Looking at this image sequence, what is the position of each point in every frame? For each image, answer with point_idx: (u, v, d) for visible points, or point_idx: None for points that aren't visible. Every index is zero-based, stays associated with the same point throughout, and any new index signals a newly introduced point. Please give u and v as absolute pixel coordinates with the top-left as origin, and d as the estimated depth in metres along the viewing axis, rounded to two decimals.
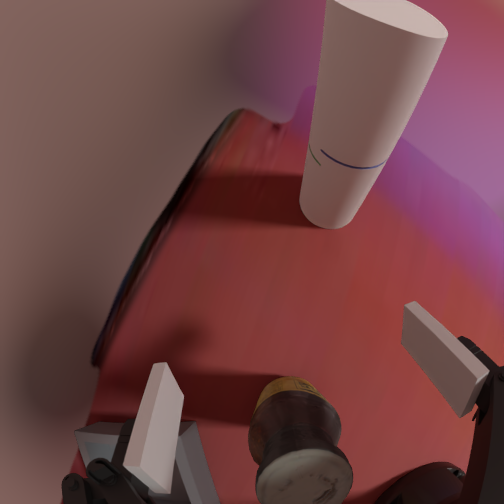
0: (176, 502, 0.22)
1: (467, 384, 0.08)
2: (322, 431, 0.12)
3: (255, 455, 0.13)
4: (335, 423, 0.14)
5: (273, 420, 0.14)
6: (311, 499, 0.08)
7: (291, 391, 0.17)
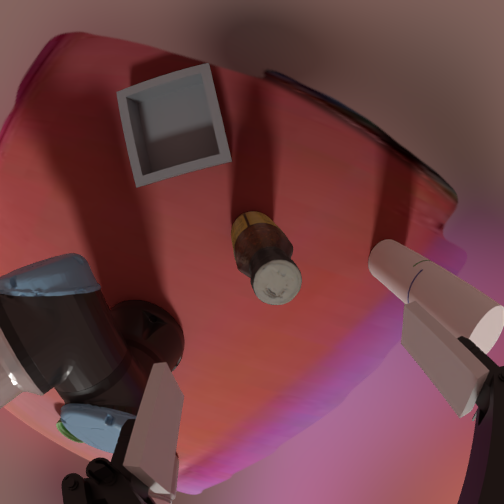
0: (145, 148, 0.35)
1: (467, 384, 0.08)
2: None
3: (259, 236, 0.27)
4: None
5: (285, 247, 0.27)
6: (269, 287, 0.22)
7: None
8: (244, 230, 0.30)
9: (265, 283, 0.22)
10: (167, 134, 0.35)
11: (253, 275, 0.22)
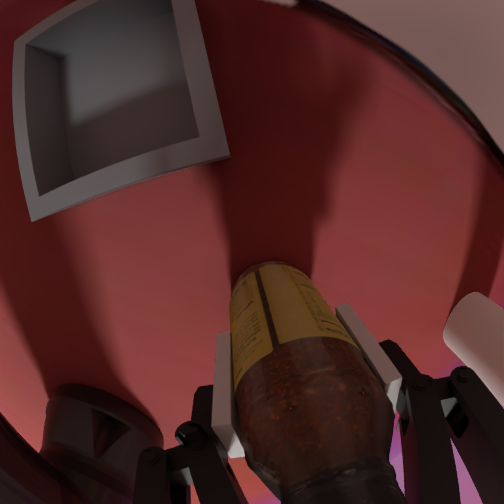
0: (63, 138, 0.15)
1: None
2: None
3: (316, 421, 0.07)
4: None
5: (384, 430, 0.07)
6: None
7: None
8: (263, 360, 0.10)
9: None
10: (103, 107, 0.15)
11: None
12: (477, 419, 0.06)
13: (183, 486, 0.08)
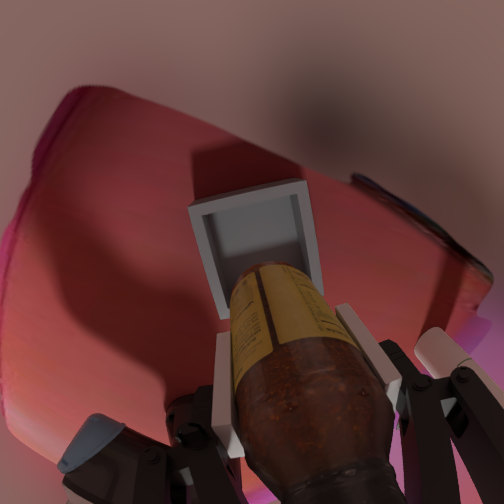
0: (220, 265, 0.34)
1: None
2: None
3: (316, 422, 0.07)
4: None
5: (384, 430, 0.07)
6: None
7: None
8: (263, 361, 0.10)
9: None
10: (245, 249, 0.35)
11: None
12: (477, 419, 0.06)
13: (183, 486, 0.08)
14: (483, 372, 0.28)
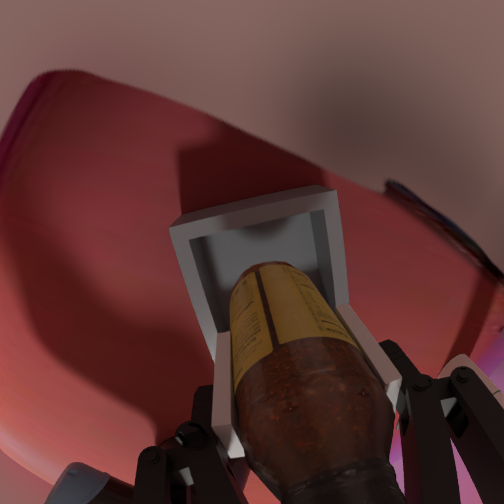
0: (216, 300, 0.26)
1: None
2: None
3: (316, 422, 0.07)
4: None
5: (384, 430, 0.07)
6: None
7: None
8: (263, 361, 0.10)
9: None
10: None
11: None
12: (477, 419, 0.06)
13: (183, 486, 0.08)
14: None
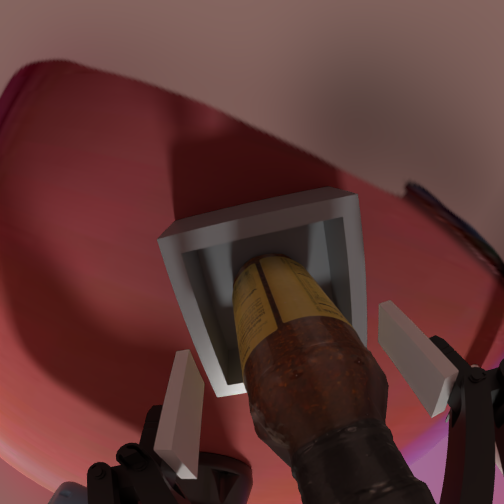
0: (216, 318, 0.23)
1: (436, 383, 0.08)
2: None
3: (319, 386, 0.09)
4: None
5: (379, 396, 0.09)
6: None
7: None
8: (269, 338, 0.12)
9: None
10: None
11: None
12: None
13: (132, 502, 0.07)
14: None
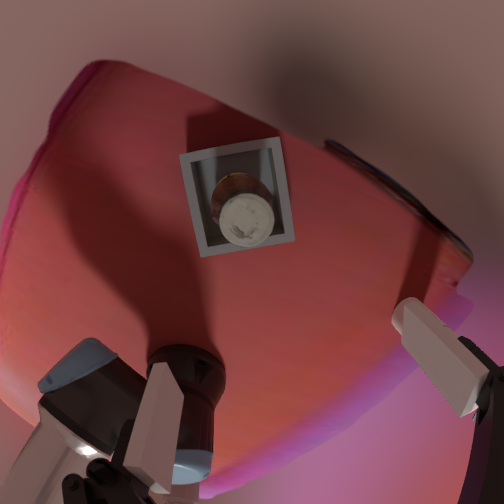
0: (205, 212, 0.39)
1: (467, 384, 0.08)
2: None
3: (235, 182, 0.24)
4: None
5: (263, 194, 0.25)
6: (237, 225, 0.20)
7: None
8: (222, 180, 0.28)
9: (232, 219, 0.20)
10: None
11: (220, 210, 0.20)
12: None
13: None
14: None
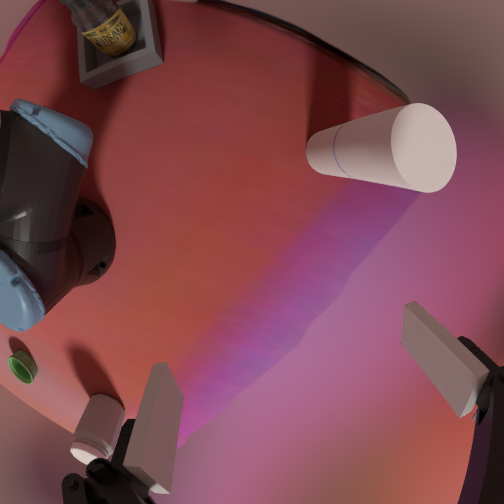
0: (95, 61, 0.32)
1: (467, 384, 0.08)
2: (92, 2, 0.17)
3: None
4: (95, 19, 0.20)
5: None
6: None
7: (117, 8, 0.22)
8: None
9: None
10: None
11: None
12: None
13: None
14: None
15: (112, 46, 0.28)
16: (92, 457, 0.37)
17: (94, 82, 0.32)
